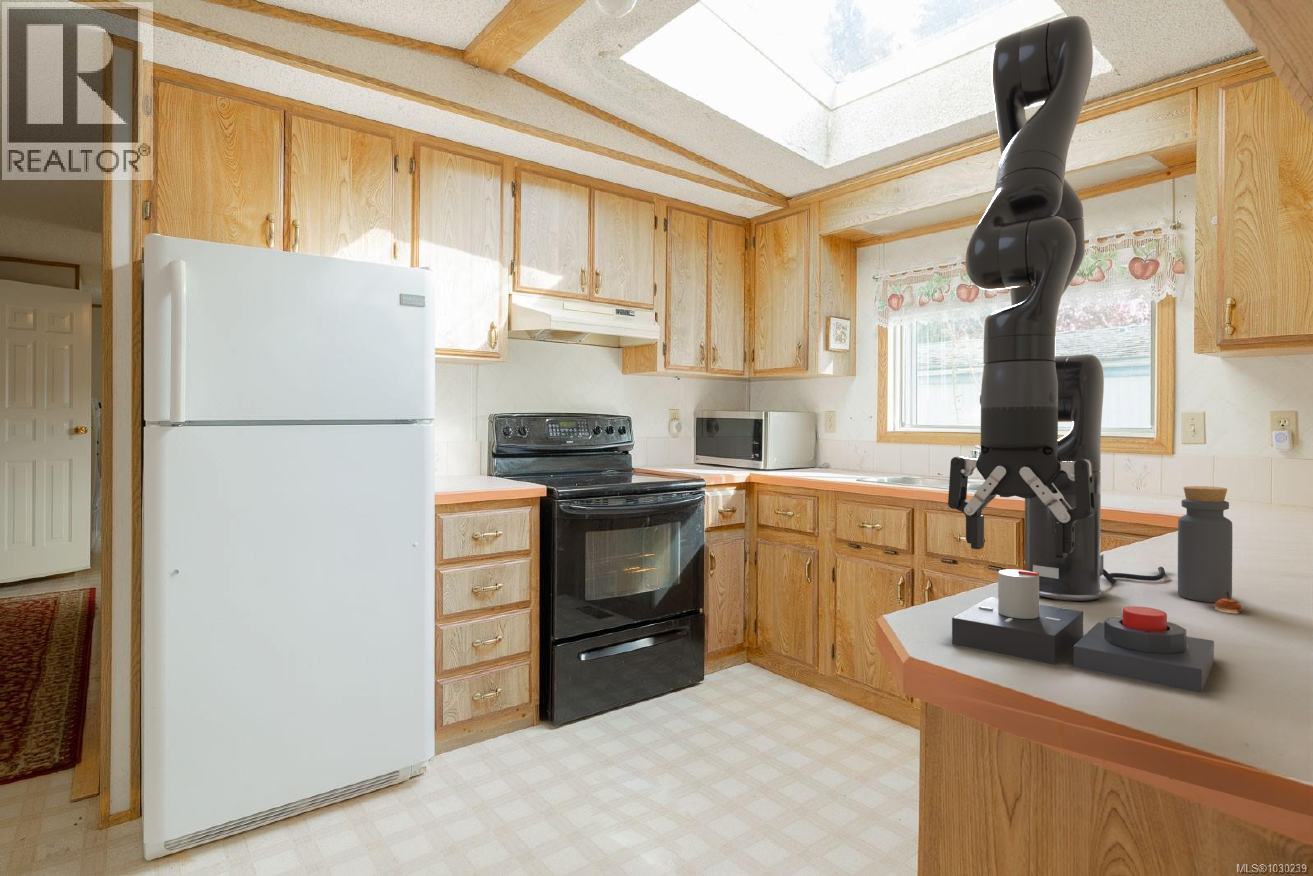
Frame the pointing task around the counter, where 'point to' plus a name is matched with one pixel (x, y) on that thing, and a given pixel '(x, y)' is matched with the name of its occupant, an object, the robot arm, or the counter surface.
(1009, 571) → the timer knob
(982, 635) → the panel
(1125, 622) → the power button
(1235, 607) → the reddish brown rounded piece
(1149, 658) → the power block
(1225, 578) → the bottle
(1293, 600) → the counter surface
